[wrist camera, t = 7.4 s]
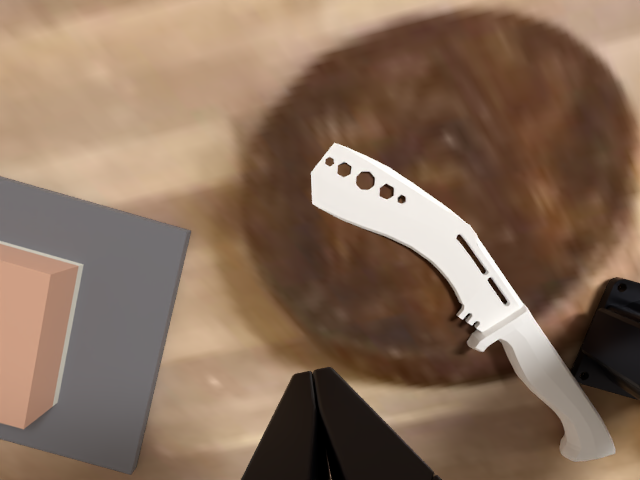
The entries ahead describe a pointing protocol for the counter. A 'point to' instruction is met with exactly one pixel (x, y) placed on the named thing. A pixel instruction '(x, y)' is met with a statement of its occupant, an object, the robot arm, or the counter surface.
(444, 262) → the knife
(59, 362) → the tile
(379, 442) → the robot arm
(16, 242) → the mat
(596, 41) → the counter surface
